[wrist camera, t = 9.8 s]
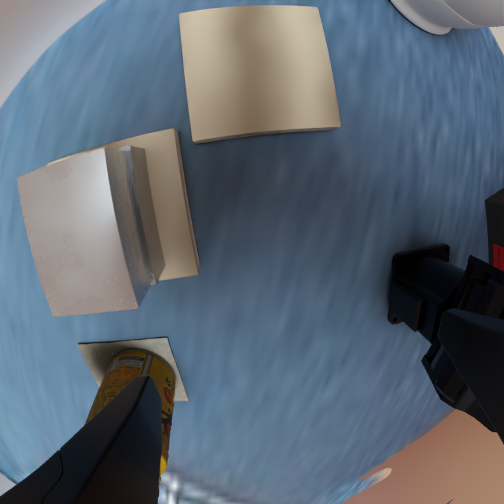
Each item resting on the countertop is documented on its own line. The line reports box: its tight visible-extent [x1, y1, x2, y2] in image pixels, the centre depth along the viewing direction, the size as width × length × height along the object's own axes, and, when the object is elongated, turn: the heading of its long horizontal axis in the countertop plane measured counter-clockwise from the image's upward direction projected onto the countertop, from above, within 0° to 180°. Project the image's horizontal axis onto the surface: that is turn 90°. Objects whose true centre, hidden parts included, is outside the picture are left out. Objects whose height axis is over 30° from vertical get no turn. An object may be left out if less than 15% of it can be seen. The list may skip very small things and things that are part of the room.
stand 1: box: [46, 128, 200, 281], centre depth 17 cm, size 9×9×2 cm
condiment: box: [77, 338, 189, 497], centre depth 16 cm, size 7×8×12 cm
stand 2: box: [179, 5, 341, 144], centre depth 15 cm, size 9×9×2 cm
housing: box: [17, 146, 166, 317], centre depth 13 cm, size 5×7×6 cm
